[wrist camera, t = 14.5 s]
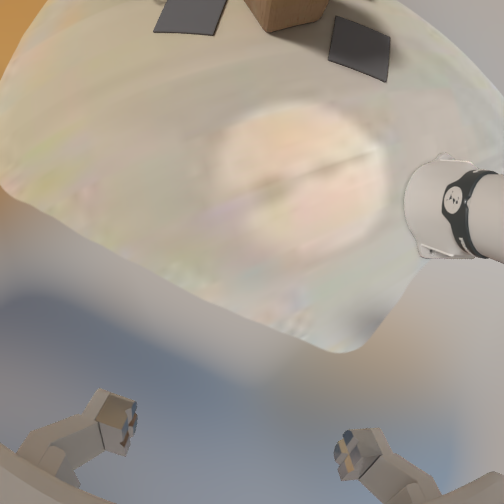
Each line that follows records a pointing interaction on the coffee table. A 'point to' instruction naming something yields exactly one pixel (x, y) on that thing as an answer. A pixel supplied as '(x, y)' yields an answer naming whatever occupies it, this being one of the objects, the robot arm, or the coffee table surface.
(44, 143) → the coffee table surface
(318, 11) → the block
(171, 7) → the mats
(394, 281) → the coffee table surface
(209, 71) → the coffee table surface
